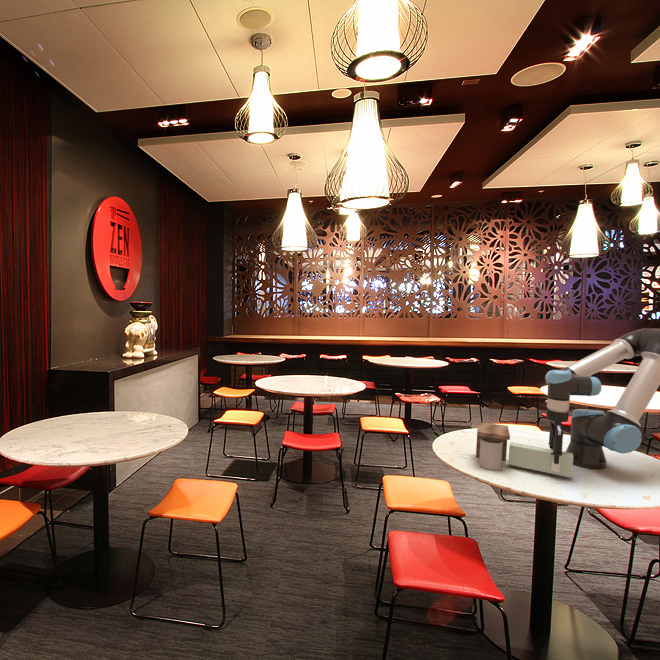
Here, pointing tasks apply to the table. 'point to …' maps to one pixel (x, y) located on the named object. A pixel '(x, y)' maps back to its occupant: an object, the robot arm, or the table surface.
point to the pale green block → (539, 459)
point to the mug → (490, 453)
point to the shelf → (493, 436)
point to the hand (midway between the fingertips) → (553, 468)
